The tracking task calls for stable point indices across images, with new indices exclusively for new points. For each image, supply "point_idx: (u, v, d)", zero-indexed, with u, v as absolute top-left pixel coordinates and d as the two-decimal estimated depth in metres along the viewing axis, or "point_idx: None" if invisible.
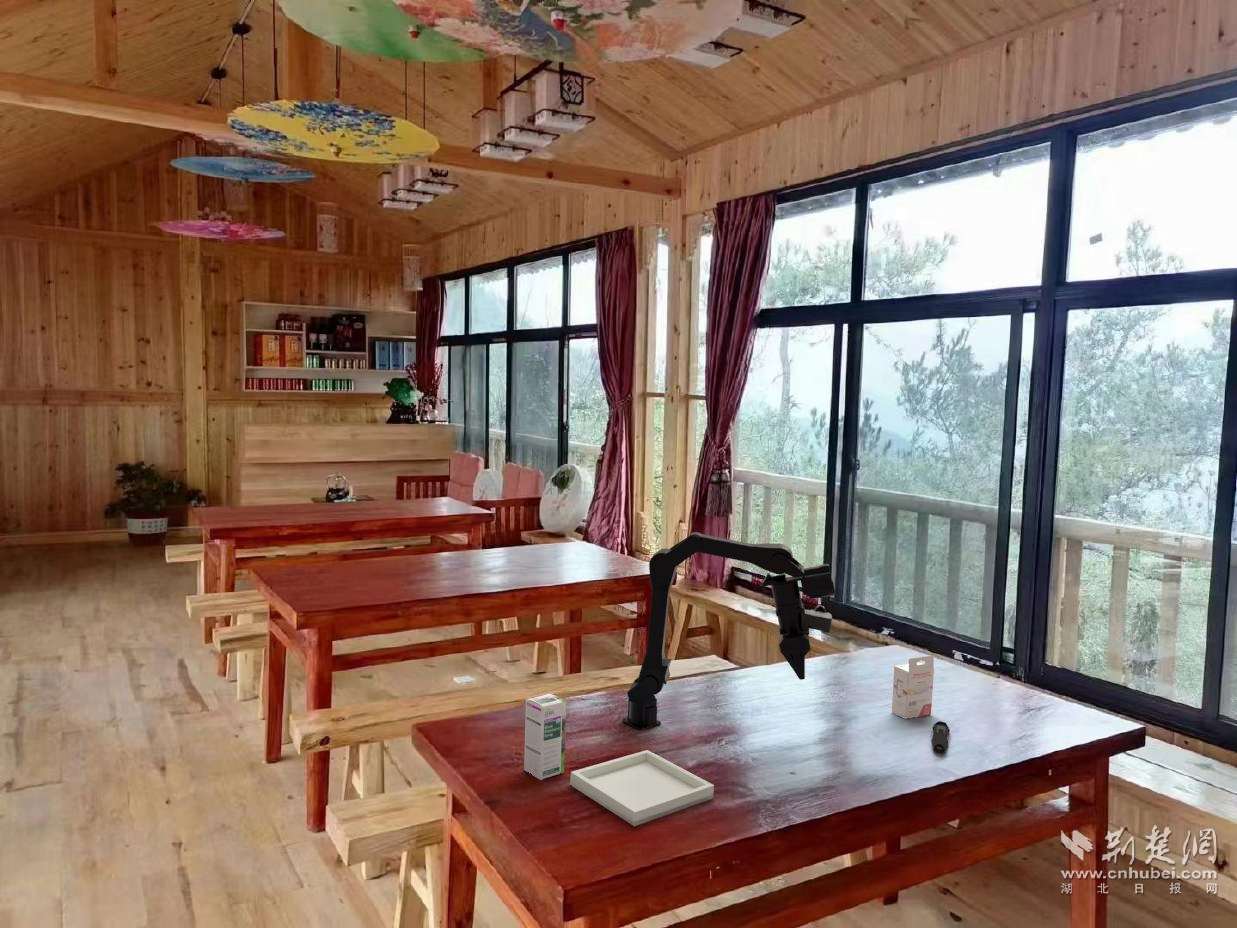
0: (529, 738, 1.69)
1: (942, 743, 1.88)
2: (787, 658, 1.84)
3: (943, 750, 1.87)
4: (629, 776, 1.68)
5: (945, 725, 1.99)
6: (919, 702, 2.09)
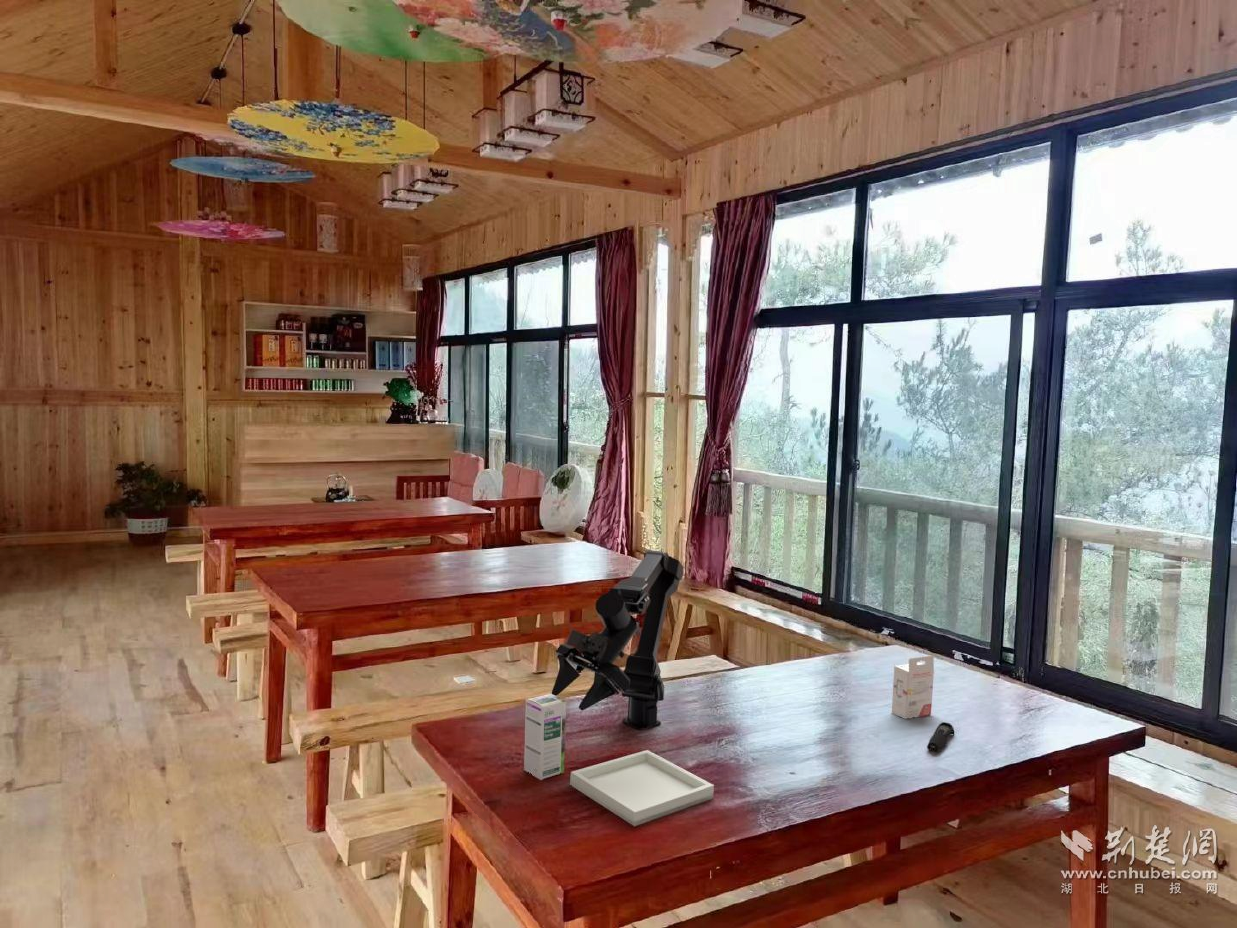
0: (529, 738, 1.69)
1: (936, 742, 1.88)
2: None
3: (936, 749, 1.87)
4: (629, 776, 1.68)
5: (949, 726, 1.98)
6: (919, 702, 2.09)
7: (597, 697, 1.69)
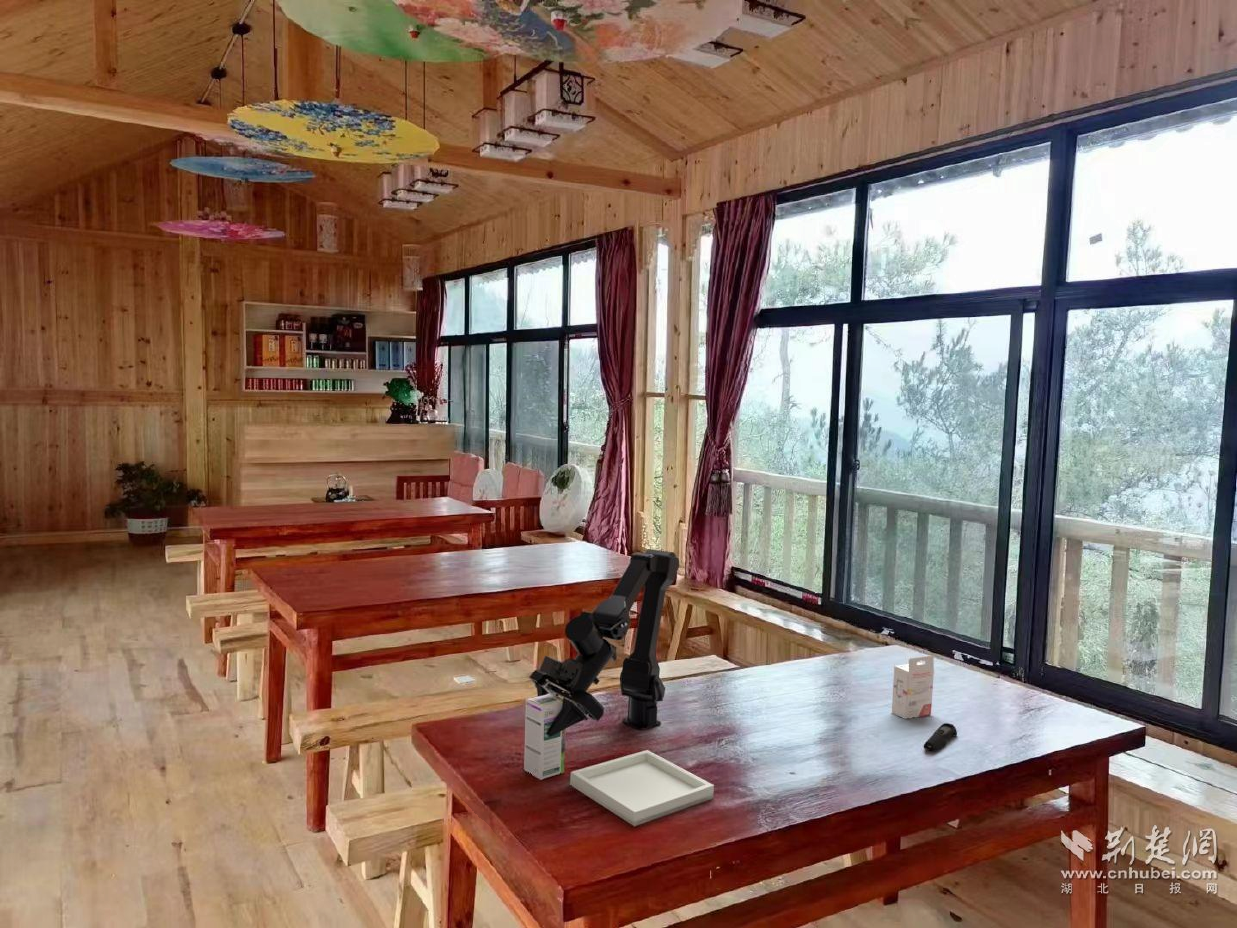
0: (529, 738, 1.69)
1: (932, 742, 1.88)
2: None
3: (932, 748, 1.88)
4: (629, 776, 1.68)
5: (951, 727, 1.97)
6: (919, 702, 2.09)
7: (565, 723, 1.67)
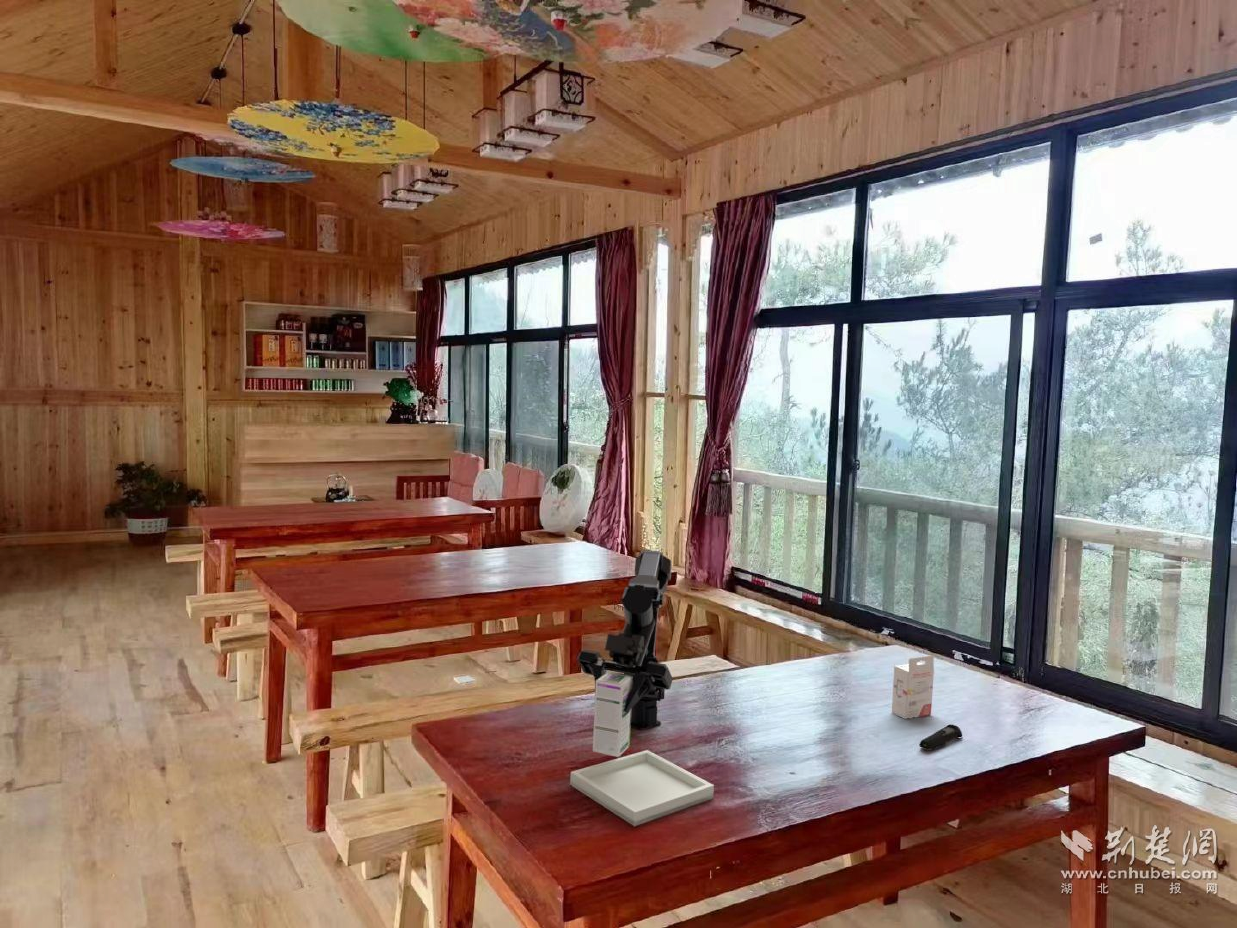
0: (602, 718, 1.67)
1: (928, 741, 1.89)
2: None
3: (927, 747, 1.88)
4: (629, 776, 1.68)
5: (955, 729, 1.97)
6: (919, 702, 2.09)
7: (638, 696, 1.69)
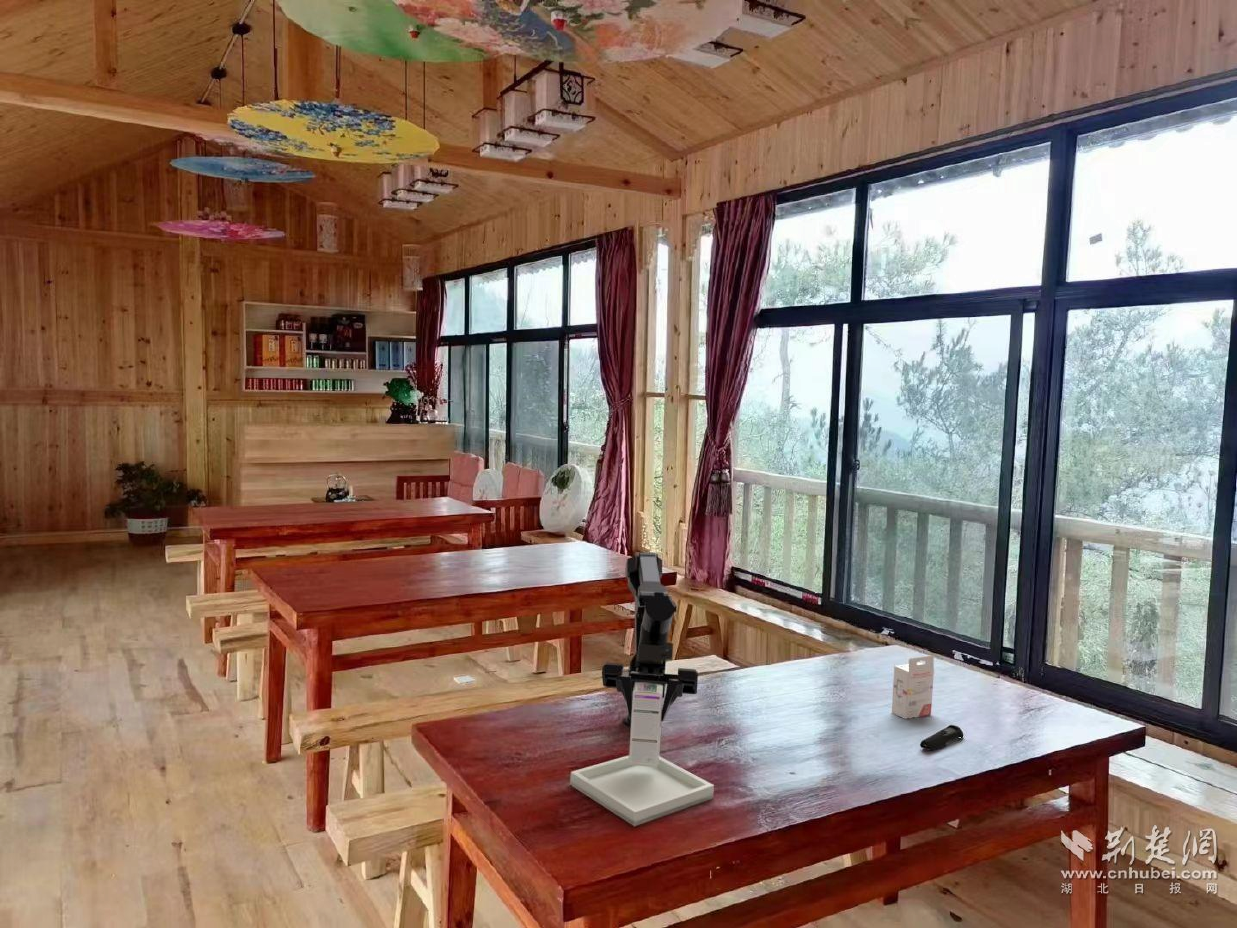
0: (639, 730, 1.66)
1: (928, 741, 1.89)
2: (624, 695, 1.73)
3: (928, 748, 1.88)
4: (629, 776, 1.68)
5: (956, 729, 1.96)
6: (919, 702, 2.09)
7: (670, 704, 1.69)
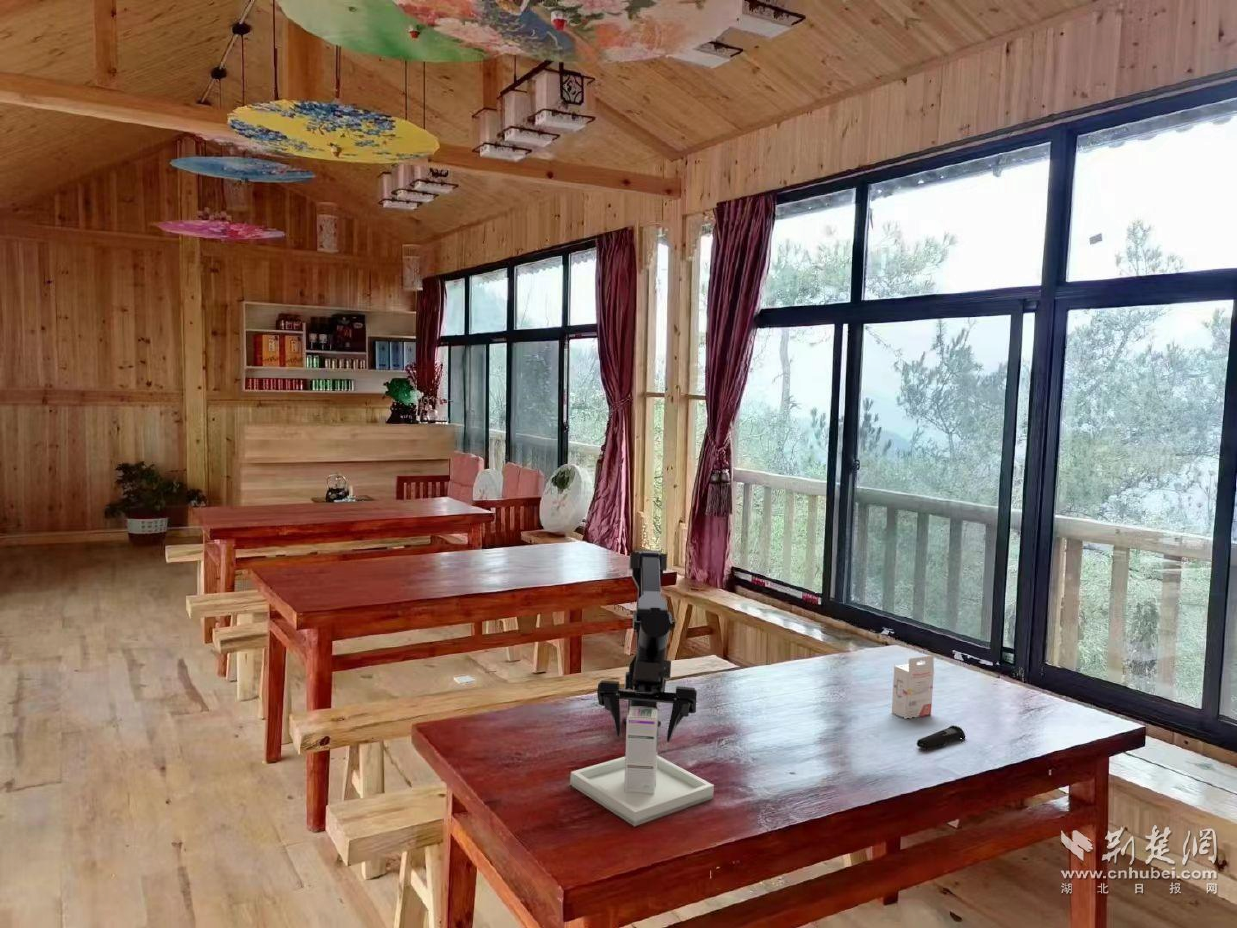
0: (634, 756, 1.60)
1: (925, 740, 1.89)
2: (612, 714, 1.67)
3: (924, 747, 1.89)
4: None
5: (957, 730, 1.96)
6: (919, 702, 2.09)
7: (675, 724, 1.64)
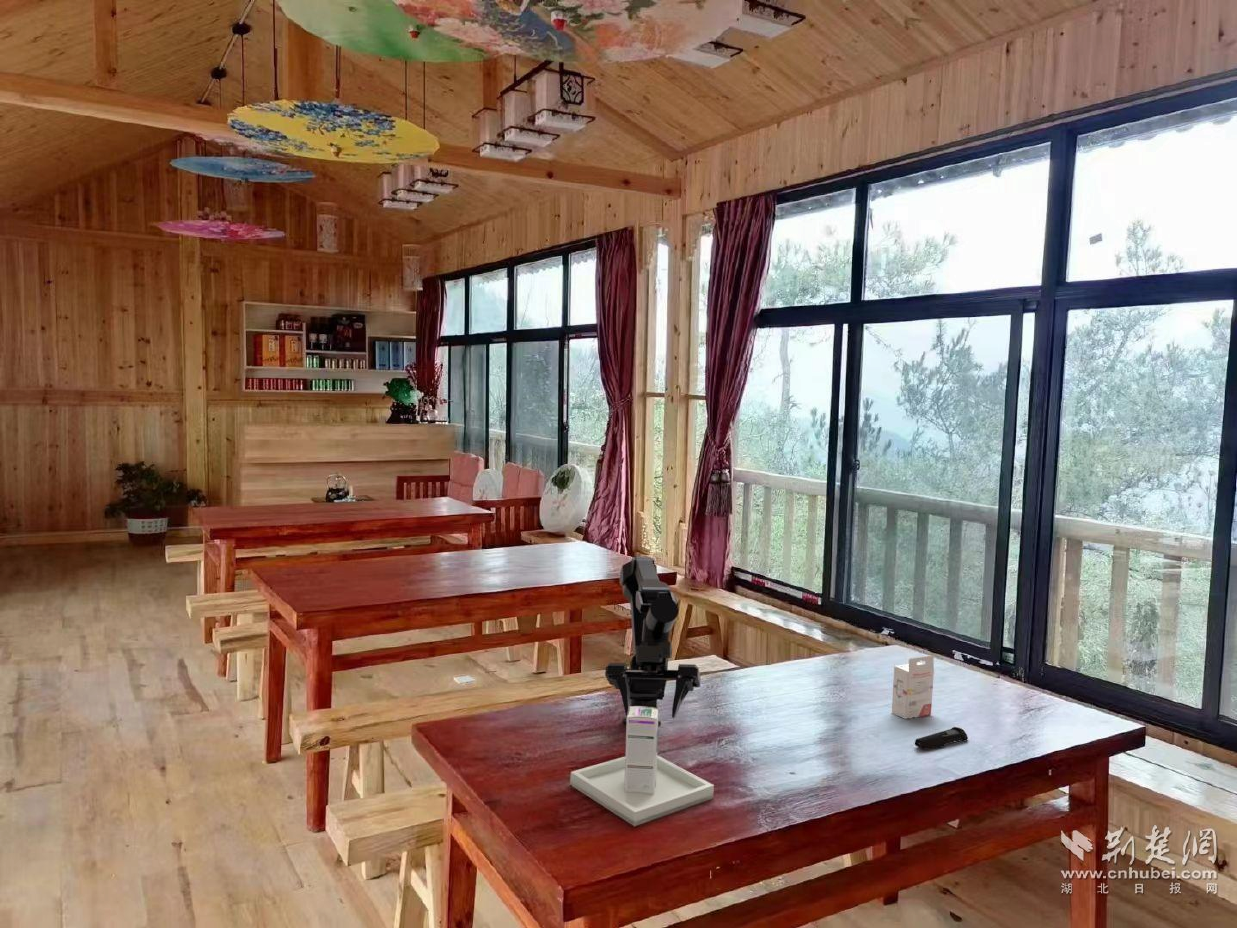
0: (634, 756, 1.60)
1: (923, 740, 1.89)
2: None
3: (922, 746, 1.89)
4: None
5: (959, 731, 1.95)
6: (919, 702, 2.09)
7: (680, 700, 1.73)
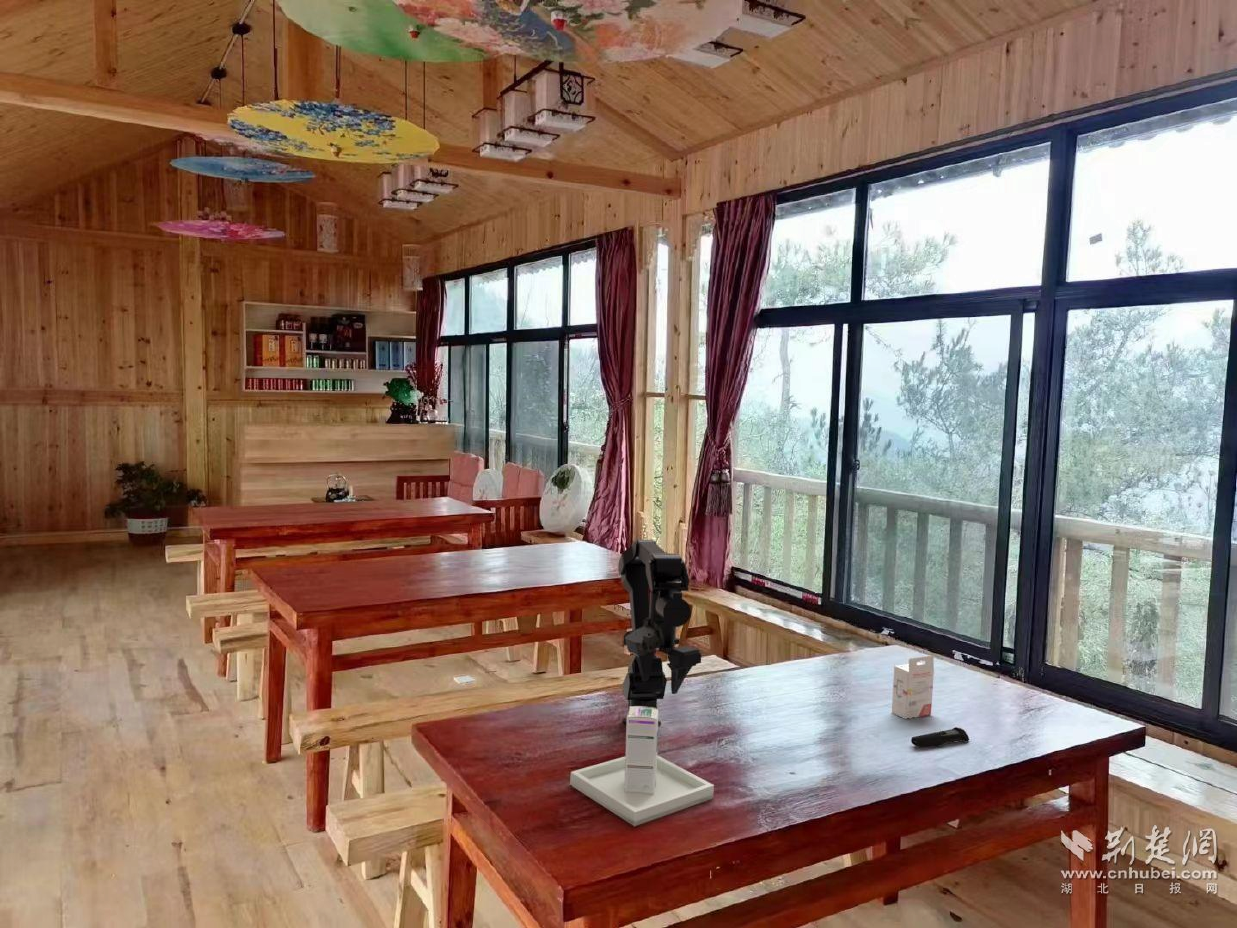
0: (634, 756, 1.60)
1: (919, 738, 1.90)
2: None
3: (917, 744, 1.90)
4: None
5: (959, 731, 1.95)
6: (919, 702, 2.09)
7: (681, 677, 1.79)
